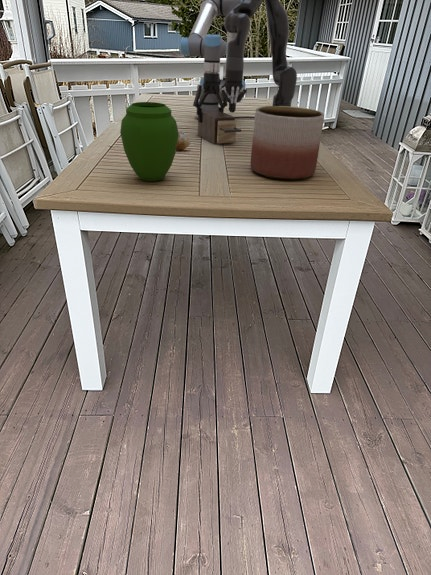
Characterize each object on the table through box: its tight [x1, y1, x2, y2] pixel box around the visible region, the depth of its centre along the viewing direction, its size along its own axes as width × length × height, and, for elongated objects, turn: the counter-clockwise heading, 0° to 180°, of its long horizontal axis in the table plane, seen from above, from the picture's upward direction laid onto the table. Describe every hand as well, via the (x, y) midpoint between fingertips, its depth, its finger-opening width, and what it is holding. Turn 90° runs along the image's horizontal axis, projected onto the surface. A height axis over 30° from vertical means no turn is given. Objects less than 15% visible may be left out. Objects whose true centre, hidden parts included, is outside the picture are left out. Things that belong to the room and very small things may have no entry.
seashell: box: [176, 130, 191, 151], centre depth 180 cm, size 10×6×8 cm, turn 97°
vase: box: [119, 101, 179, 182], centre depth 140 cm, size 20×20×24 cm
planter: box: [249, 105, 325, 181], centre depth 155 cm, size 25×25×22 cm
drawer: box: [216, 119, 242, 144], centre depth 197 cm, size 25×9×10 cm, turn 25°
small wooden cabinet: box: [197, 110, 236, 145], centre depth 202 cm, size 20×10×12 cm, turn 25°
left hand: (209, 121), depth 206 cm, fingers closed on small wooden cabinet, 10 cm apart
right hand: (231, 112), depth 184 cm, fingers closed
